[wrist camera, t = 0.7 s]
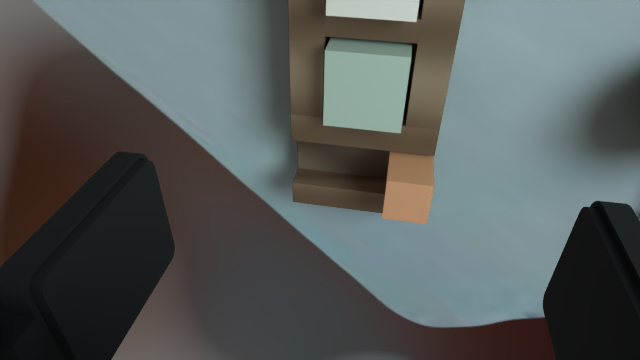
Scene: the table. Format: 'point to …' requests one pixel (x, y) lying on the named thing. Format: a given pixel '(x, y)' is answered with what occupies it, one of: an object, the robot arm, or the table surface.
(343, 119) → the button
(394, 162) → the slider
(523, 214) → the table surface
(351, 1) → the button
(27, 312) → the robot arm
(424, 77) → the brown wooden tray
